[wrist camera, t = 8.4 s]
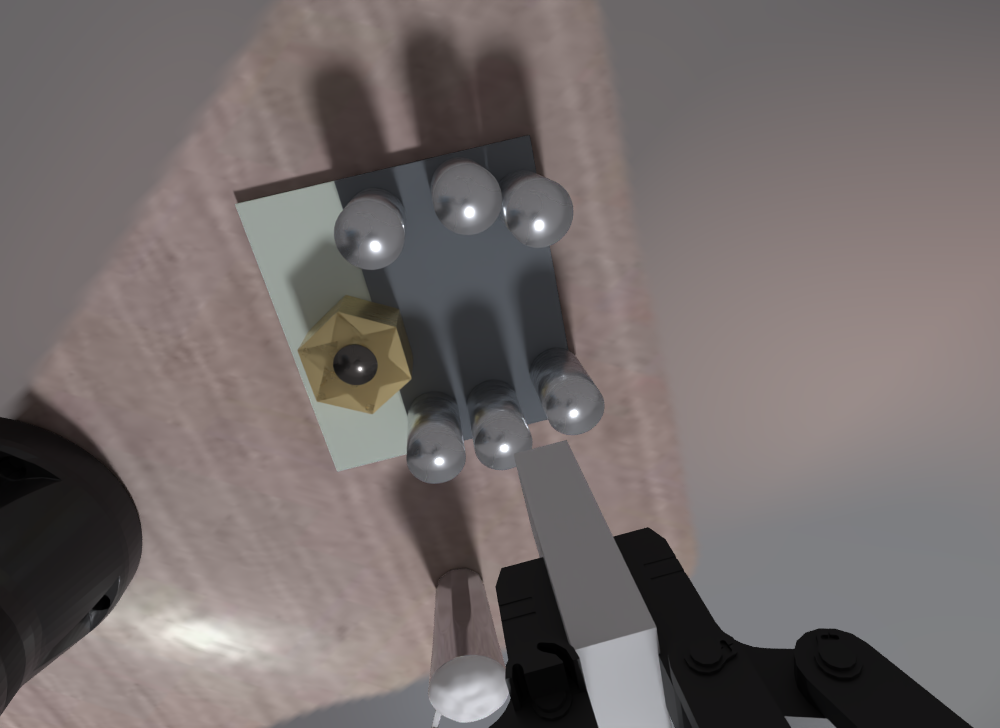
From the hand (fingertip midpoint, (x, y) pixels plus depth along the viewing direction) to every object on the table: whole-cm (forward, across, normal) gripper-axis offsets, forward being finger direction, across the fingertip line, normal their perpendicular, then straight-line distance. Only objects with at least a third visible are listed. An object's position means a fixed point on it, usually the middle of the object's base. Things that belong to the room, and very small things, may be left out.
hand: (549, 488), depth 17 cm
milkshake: (+19, -6, -19) cm, 28 cm away
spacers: (+18, 0, 0) cm, 18 cm away
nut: (+18, -7, 0) cm, 19 cm away
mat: (+18, -3, 0) cm, 19 cm away
